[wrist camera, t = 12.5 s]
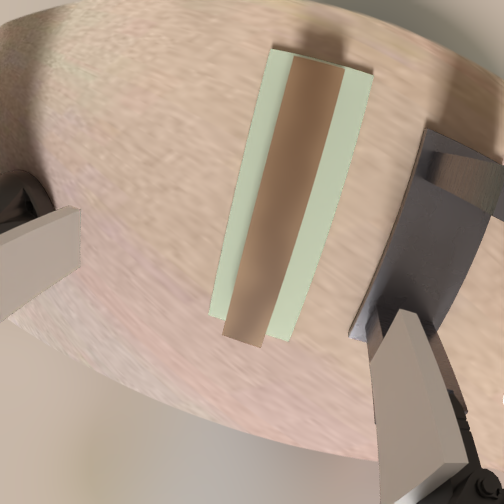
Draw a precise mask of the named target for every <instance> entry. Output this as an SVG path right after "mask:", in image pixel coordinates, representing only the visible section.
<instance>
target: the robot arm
mask: <svg viewBox="0 0 504 504" xmlns="http://www.w3.org/2000/svg"><path fill="white" fill-rule="evenodd" d="M80 228H81V209H78V208H75V207H72V206H66V207H64V208H61V209H58V210H56V211H54V209H53V206H52V204H51V201H50V199H49V197H48V195H47V193H46V192H45V190H44V188H43V187H42V185H41V184H40V183H39V182H38V180H37V179H36V178H35V177H34V176H32V175H31V174H30V173H28V172H26V171H23V170H15V171H11V172H7V173H3V174H1V175H0V323H1V322H2V321H4V320H5V319H6V318H8V317H9V316H10V315H12V314H13V313H14V312H16V311H17V310H19V309H20V308H21V307H23V306H24V305H25V304H27V303H28V302H30V301H31V300H32V299H34V298H35V297H37V296H38V295H40V294H41V293H42V292H44V291H45V290H47V289H48V288H50V287H51V286H53V285H54V284H56V283H57V282H59V281H60V280H62V279H63V278H64V277H66V276H67V275H69V274H71V273H72V272H74V271H75V270H77V269H78V268H80ZM369 366H370V374H371V381H372V390H373V399H374V408H375V418H376V430H377V442H378V458H379V478H380V504H504V489H502V486H501V483H500V481H499V479H498V477H497V476H496V475H495V474H494V473H493V472H491V471H489V470H488V469H482V468H481V465H480V461H479V457H478V454H477V450H476V447H475V444H474V440H473V437H472V434H471V432H470V431H469V430H470V427H469V424H468V421H466V419H467V418H466V415H465V412H464V410H463V407H462V405H461V404H460V402H459V401H458V399H457V398H456V397H455V395H454V394H450V393H448V392H447V389H446V386H445V383H444V381H443V378H442V375H441V372H440V370H439V367H438V364H437V362H436V359H435V357H434V354H433V351H432V349H431V346H430V344H429V342H428V339H427V337H426V334H425V332H424V329H423V327H422V325H421V322H420V320H419V318H418V316H417V314H416V313H413V312H410V311H406V310H403V309H399V311H398V313H397V315H396V317H395V318H394V320H393V322H392V324H391V326H390V328H389V330H388V332H387V334H386V335H385V337H384V339H383V341H382V343H381V344H380V346H379V348H378V350H377V352H376V353H375V355H374V357H373V359H372V360H371V362H370V364H369Z"/></svg>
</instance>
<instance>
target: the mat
mask: <svg viewBox="0 0 504 504" xmlns="http://www.w3.org/2000/svg"><path fill="white" fill-rule="evenodd" d="M294 56H298V57H302V58H306V59H310V60H314V61H318V62H322V63H326V64H329V65H333V66H337V67H340V68H343V69H345V72H344V76H343V80H342V84H341V87H340V91H339V95H338V99H337V103H336V106H335V110H334V114H333V117H332V121H331V125H330V128H329V132H328V135H327V139H326V143H325V146H324V150H323V153H322V157H321V160H320V164H319V167H318V170H317V174H316V177H315V181H314V184H313V187H312V191H311V194H310V197H309V201H308V204H307V207H306V211H305V214H304V217H303V221H302V224H301V227H300V230H299V233H298V237H297V240H296V243H295V246H294V249H293V252H292V256H291V259H290V262H289V265H288V268H287V271H286V274H285V277H284V280H283V283H282V286H281V289H280V292H279V296H278V299H277V302H276V305H275V307H274V310H273V313H272V316H271V319H270V322H269V325H268V328H267V331H266V335H269V336H272V337H275V338H278V339H282V340H285V341H288V342H289V340H290V337H291V335H292V332H293V330H294V327H295V324H296V322H297V319H298V317H299V314H300V311H301V309H302V306H303V303H304V301H305V298H306V295H307V293H308V290H309V287H310V284H311V282H312V279H313V276H314V273H315V270H316V268H317V265H318V262H319V259H320V256H321V253H322V250H323V248H324V245H325V242H326V239H327V236H328V233H329V230H330V227H331V224H332V221H333V218H334V214H335V211H336V208H337V205H338V202H339V199H340V196H341V192H342V189H343V186H344V183H345V179H346V176H347V173H348V170H349V166H350V163H351V159H352V156H353V152H354V149H355V146H356V142H357V138H358V135H359V131H360V128H361V124H362V120H363V117H364V113H365V109H366V105H367V101H368V97H369V93H370V89H371V85H372V81H373V77H374V75H371V74H368V73H365V72H362V71H358V70H355V69H352V68H349V67H345V66H342V65H338V64H335V63H331V62H328V61H324V60H320V59H316V58H312V57H308V56H304V55H299V54H295V53H290V52H285V51H280V50H275V49H270V53H269V57H268V60H267V64H266V68H265V72H264V76H263V79H262V83H261V87H260V91H259V95H258V99H257V103H256V107H255V111H254V115H253V119H252V123H251V127H250V131H249V135H248V139H247V143H246V147H245V151H244V155H243V160H242V164H241V168H240V172H239V177H238V181H237V185H236V189H235V194H234V198H233V202H232V207H231V211H230V216H229V220H228V225H227V229H226V234H225V238H224V243H223V247H222V252H221V256H220V261H219V266H218V270H217V275H216V280H215V285H214V289H213V294H212V299H211V304H210V309H209V314H208V315H210V316H213V317H216V318H218V319H221V320H224V321H226V317H227V313H228V309H229V305H230V301H231V297H232V293H233V289H234V285H235V281H236V277H237V273H238V269H239V265H240V261H241V257H242V253H243V249H244V245H245V241H246V237H247V233H248V229H249V226H250V222H251V218H252V214H253V210H254V206H255V202H256V198H257V194H258V190H259V187H260V183H261V179H262V175H263V171H264V167H265V163H266V160H267V156H268V152H269V148H270V144H271V140H272V136H273V133H274V129H275V125H276V121H277V117H278V114H279V110H280V106H281V102H282V98H283V95H284V91H285V87H286V83H287V80H288V76H289V72H290V68H291V65H292V61H293V57H294Z"/></svg>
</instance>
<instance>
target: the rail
mask: <svg viewBox="0 0 504 504" xmlns="http://www.w3.org/2000/svg"><path fill="white" fill-rule="evenodd" d="M344 72H345V69H343V68H340V67H337V66H333V65H329V64H326V63H322V62H318V61H314V60H310V59H306V58H302V57H298V56H294V57H293V61H292V65H291V68H290V72H289V76H288V80H287V83H286V87H285V91H284V95H283V98H282V102H281V106H280V110H279V114H278V117H277V121H276V125H275V129H274V133H273V136H272V140H271V144H270V148H269V152H268V156H267V160H266V163H265V167H264V171H263V175H262V179H261V183H260V187H259V190H258V194H257V198H256V202H255V206H254V210H253V214H252V218H251V222H250V226H249V229H248V233H247V237H246V241H245V245H244V249H243V253H242V257H241V261H240V265H239V269H238V273H237V277H236V281H235V285H234V289H233V293H232V297H231V301H230V305H229V309H228V313H227V317H226V321H225V325H224V329H223V333H222V335H224V336H227V337H229V338H232V339H235V340H238V341H241V342H244V343H247V344H250V345H253V346H256V347H259V348H261V345H262V343H263V340H264V337H265V334H266V331H267V328H268V325H269V322H270V319H271V316H272V313H273V310H274V307H275V305H276V302H277V299H278V296H279V292H280V289H281V286H282V283H283V280H284V277H285V274H286V271H287V268H288V265H289V262H290V259H291V256H292V252H293V249H294V246H295V243H296V240H297V237H298V233H299V230H300V227H301V224H302V221H303V217H304V214H305V211H306V207H307V204H308V201H309V197H310V194H311V191H312V187H313V184H314V181H315V177H316V174H317V170H318V167H319V164H320V160H321V157H322V153H323V150H324V146H325V143H326V139H327V135H328V132H329V128H330V125H331V121H332V117H333V114H334V110H335V106H336V103H337V99H338V95H339V91H340V87H341V84H342V80H343V76H344Z"/></svg>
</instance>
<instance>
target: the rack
mask: <svg viewBox="0 0 504 504" xmlns="http://www.w3.org/2000/svg"><path fill="white" fill-rule="evenodd" d="M491 215H492V216H494V217H496V218H498V219H500V220H502V221H504V165H500V164H498V163H497V162H495V161H493V160H491V159H489V158H488V157H486V156H484V155H482V154H480V153H478V152H476V151H474V150H472V149H471V148H469V147H467V146H465V145H463V144H461V143H458V142H456V141H454V140H452V139H450V138H448V137H446V136H444V135H442V134H439V133H437V132H435V131H433V130H430V129H428V128H425V129H424V133H423V137H422V140H421V144H420V147H419V151H418V154H417V158H416V161H415V164H414V168H413V171H412V174H411V177H410V180H409V184H408V187H407V190H406V193H405V196H404V199H403V201H402V204H401V207H400V210H399V213H398V216H397V219H396V221H395V224H394V227H393V229H392V232H391V235H390V237H389V240H388V243H387V245H386V248H385V250H384V253H383V255H382V258H381V260H380V263H379V265H378V268H377V270H376V272H375V275H374V277H373V279H372V282H371V284H370V286H369V289H368V291H367V293H366V295H365V298H364V300H363V302H362V304H361V307H360V309H359V311H358V313H357V315H356V317H355V319H354V322H353V324H352V326H351V328H350V330H349V332H348V337H349V338H352V339H356V340H359V341H363V342H366V343H367V346H368V355H369V363H370V362H371V360H372V359H373V357H374V355H375V353H376V352H377V350H378V348H379V346H380V344H381V343H382V341H383V339H384V337H385V335H386V334H387V332H388V330H389V328H390V326H391V324H392V322H393V320H394V318H395V317H396V315H397V313H398V311H399V309H403V310H406V311H410V312H413V313H416V314H417V316H418V318H419V320H420V322H421V325H422V327H423V329H424V332H425V334H426V337H427V339H428V342H429V344H430V346H431V349H432V351H433V354H434V357H435V359H436V362H437V364H438V367H439V370H440V372H441V375H442V378H443V381H444V383H445V386H446V389H447V392H448V393H450V394H454V395H455V397H456V398H457V399H458V401H459V402H460V404H461V405H462V407H463V410H464V412H465V415H466V414H467V413H468V410H467V407H466V404H465V401H464V398H463V396H462V393H461V390H460V387H459V385H458V382H457V380H456V377H455V374H454V372H453V369H452V367H451V364H450V362H449V359H448V357H447V354H446V352H445V350H444V347H443V345H442V343H441V340H440V338H439V336H438V334H437V330H438V329H439V327H440V325H441V323H442V322H443V320H444V318H445V316H446V314H447V313H448V311H449V309H450V307H451V305H452V303H453V301H454V299H455V297H456V295H457V293H458V291H459V289H460V287H461V285H462V283H463V281H464V279H465V277H466V275H467V273H468V271H469V268H470V266H471V264H472V262H473V259H474V257H475V255H476V253H477V250H478V248H479V245H480V243H481V241H482V238H483V236H484V233H485V230H486V228H487V225H488V223H489V220H490V217H491ZM371 382H372V381H371ZM372 393H373V390H372ZM373 405H374V399H373ZM374 419H375V424H376V418H375V408H374Z"/></svg>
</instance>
